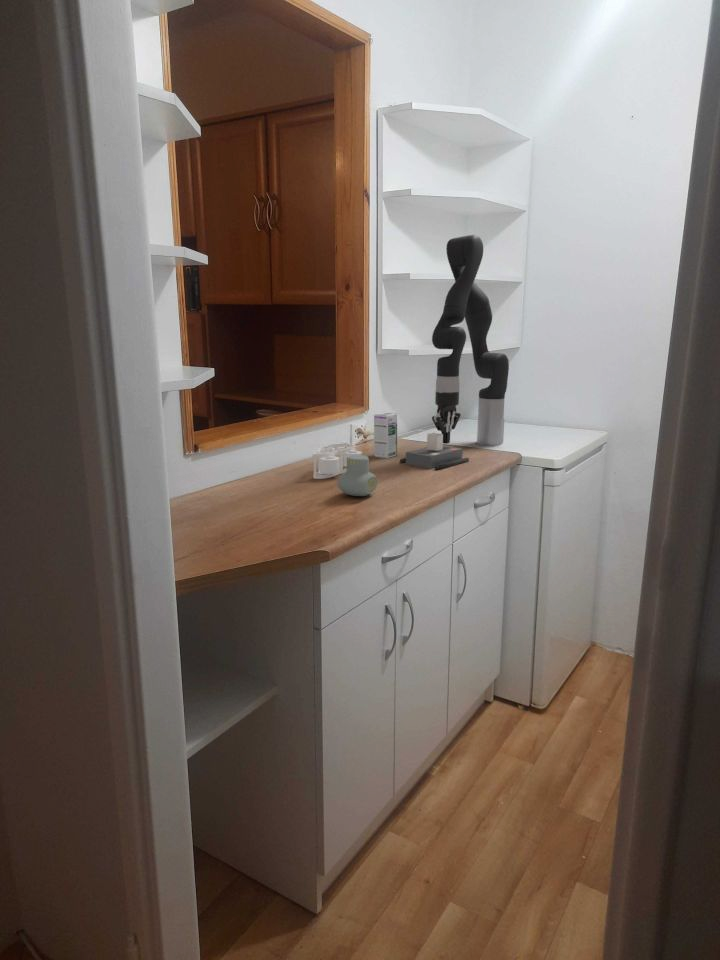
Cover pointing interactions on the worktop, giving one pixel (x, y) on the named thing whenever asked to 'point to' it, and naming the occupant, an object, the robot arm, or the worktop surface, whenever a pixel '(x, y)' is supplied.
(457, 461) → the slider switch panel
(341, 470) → the skeletal toy car
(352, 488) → the air freshener
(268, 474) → the worktop surface
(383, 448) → the syrup box
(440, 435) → the handle
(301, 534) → the worktop surface
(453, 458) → the breaker panel
